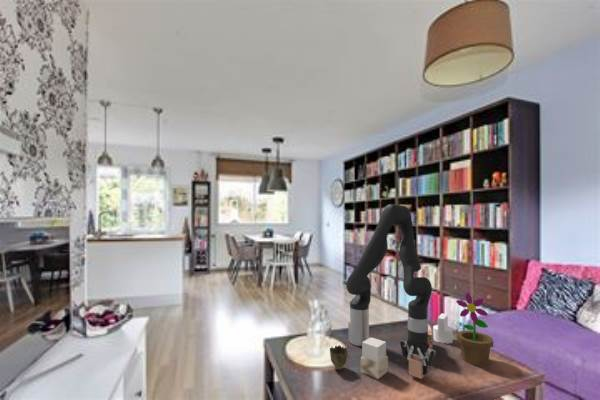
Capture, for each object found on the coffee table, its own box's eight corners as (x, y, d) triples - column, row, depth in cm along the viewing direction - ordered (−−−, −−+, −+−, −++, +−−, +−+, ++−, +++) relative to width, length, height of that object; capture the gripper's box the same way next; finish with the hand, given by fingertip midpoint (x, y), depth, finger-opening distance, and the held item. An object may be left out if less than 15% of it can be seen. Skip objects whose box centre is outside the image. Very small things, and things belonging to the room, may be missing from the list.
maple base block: (360, 372, 129) (360, 357, 129) (370, 365, 135) (370, 350, 135) (378, 379, 123) (378, 363, 124) (387, 371, 129) (387, 356, 130)
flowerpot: (452, 360, 138) (451, 291, 139) (462, 350, 149) (461, 286, 150) (489, 372, 129) (488, 298, 129) (497, 360, 139) (496, 291, 140)
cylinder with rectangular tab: (435, 335, 167) (435, 312, 167) (454, 339, 162) (454, 315, 162) (431, 340, 160) (431, 316, 160) (450, 345, 154) (450, 320, 155)
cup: (336, 374, 127) (336, 354, 127) (326, 366, 133) (326, 347, 133) (351, 370, 130) (351, 350, 130) (341, 362, 137) (341, 344, 137)
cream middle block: (362, 357, 129) (362, 342, 129) (370, 351, 134) (370, 337, 134) (377, 362, 124) (377, 347, 125) (386, 356, 130) (386, 341, 130)
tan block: (408, 374, 125) (408, 358, 125) (414, 369, 128) (414, 354, 128) (421, 378, 121) (421, 363, 121) (426, 373, 125) (426, 358, 125)
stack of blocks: (414, 341, 159) (414, 316, 159) (428, 343, 157) (427, 318, 157) (417, 361, 138) (417, 332, 139) (433, 363, 136) (432, 334, 137)
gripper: (396, 325, 127) (396, 368, 127) (432, 336, 117) (432, 382, 117) (404, 321, 133) (404, 362, 132) (439, 330, 123) (439, 374, 122)
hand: (417, 371), depth 125 cm, fingers closed on tan block, 5 cm apart
